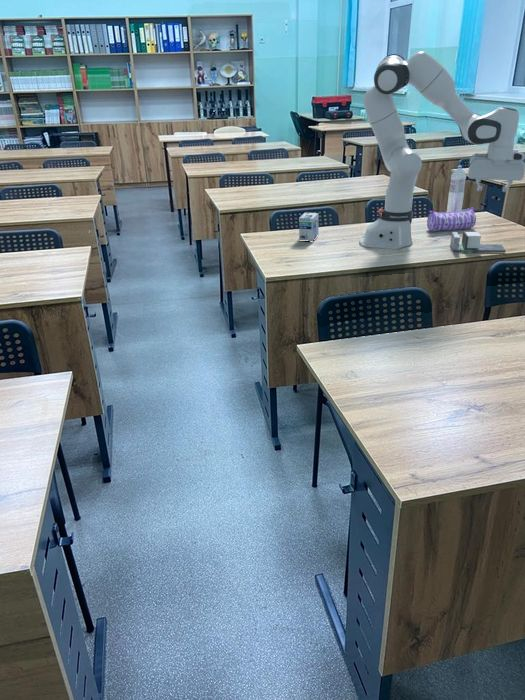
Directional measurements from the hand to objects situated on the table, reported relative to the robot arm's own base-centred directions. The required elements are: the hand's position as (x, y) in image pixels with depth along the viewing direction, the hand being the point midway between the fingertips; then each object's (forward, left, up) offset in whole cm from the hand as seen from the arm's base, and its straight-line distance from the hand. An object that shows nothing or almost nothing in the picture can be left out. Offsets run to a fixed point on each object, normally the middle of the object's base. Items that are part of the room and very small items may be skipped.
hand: (491, 191), depth 204 cm
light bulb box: (-73, +11, -23) cm, 77 cm away
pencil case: (-9, +28, -23) cm, 38 cm away
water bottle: (-5, +48, -23) cm, 54 cm away
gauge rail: (-3, -3, -23) cm, 23 cm away
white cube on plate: (-6, -3, -21) cm, 22 cm away
